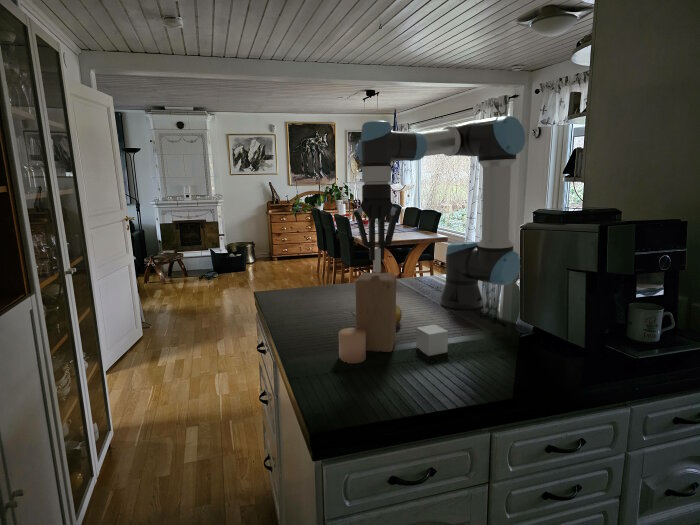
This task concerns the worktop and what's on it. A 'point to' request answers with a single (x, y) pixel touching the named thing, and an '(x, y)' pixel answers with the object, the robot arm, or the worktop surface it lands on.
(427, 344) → the grey plastic cube
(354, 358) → the peach round cylinder
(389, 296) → the wooden block
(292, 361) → the worktop surface
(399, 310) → the bread roll
